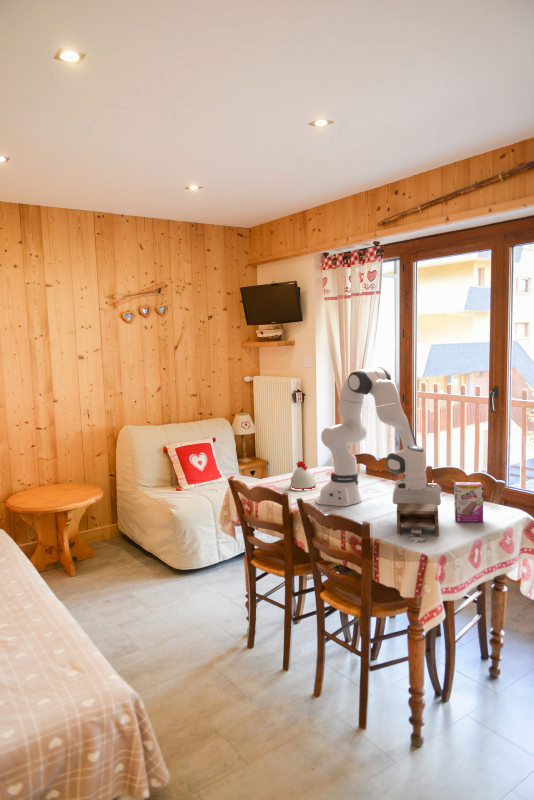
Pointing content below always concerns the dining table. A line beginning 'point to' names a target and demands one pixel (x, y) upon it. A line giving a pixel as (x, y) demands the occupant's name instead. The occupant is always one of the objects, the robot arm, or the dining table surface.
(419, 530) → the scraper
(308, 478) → the kitchen timer
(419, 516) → the walnut cabinet
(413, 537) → the steel puck
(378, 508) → the dining table surface
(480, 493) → the candy bar box
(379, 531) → the dining table surface
